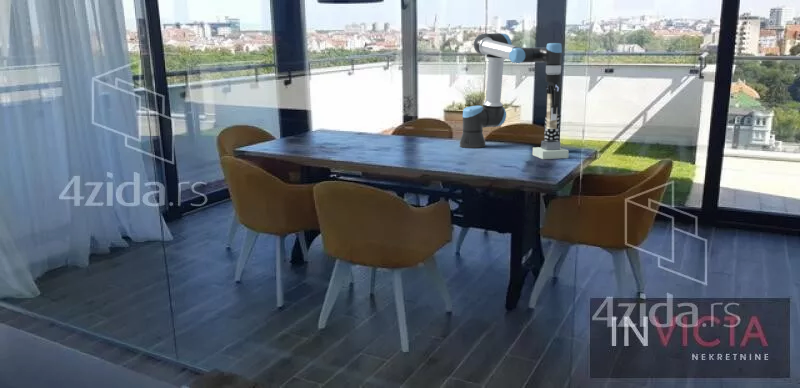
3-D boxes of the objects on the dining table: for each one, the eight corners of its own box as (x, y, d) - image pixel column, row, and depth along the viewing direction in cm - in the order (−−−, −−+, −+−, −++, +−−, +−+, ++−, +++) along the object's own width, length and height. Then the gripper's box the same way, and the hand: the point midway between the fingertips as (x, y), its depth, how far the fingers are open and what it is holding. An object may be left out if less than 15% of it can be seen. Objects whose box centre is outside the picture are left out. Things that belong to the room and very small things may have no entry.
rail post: (549, 129, 322) (550, 94, 318) (546, 128, 326) (547, 93, 322) (556, 128, 323) (557, 93, 319) (553, 128, 327) (554, 93, 323)
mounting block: (542, 159, 320) (542, 151, 319) (532, 154, 334) (532, 147, 333) (568, 158, 322) (568, 150, 321) (557, 153, 336) (557, 146, 335)
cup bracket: (546, 150, 323) (546, 142, 322) (540, 148, 330) (541, 140, 329) (560, 149, 324) (560, 142, 323) (554, 147, 331) (554, 140, 330)
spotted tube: (559, 150, 348) (561, 114, 344) (558, 152, 340) (559, 115, 336) (544, 149, 351) (545, 114, 346) (542, 151, 343) (544, 115, 339)
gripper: (567, 74, 311) (565, 121, 316) (553, 73, 327) (551, 118, 332) (553, 74, 310) (551, 121, 315) (539, 73, 326) (538, 118, 331)
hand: (551, 119), depth 323 cm, fingers closed on rail post, 4 cm apart
